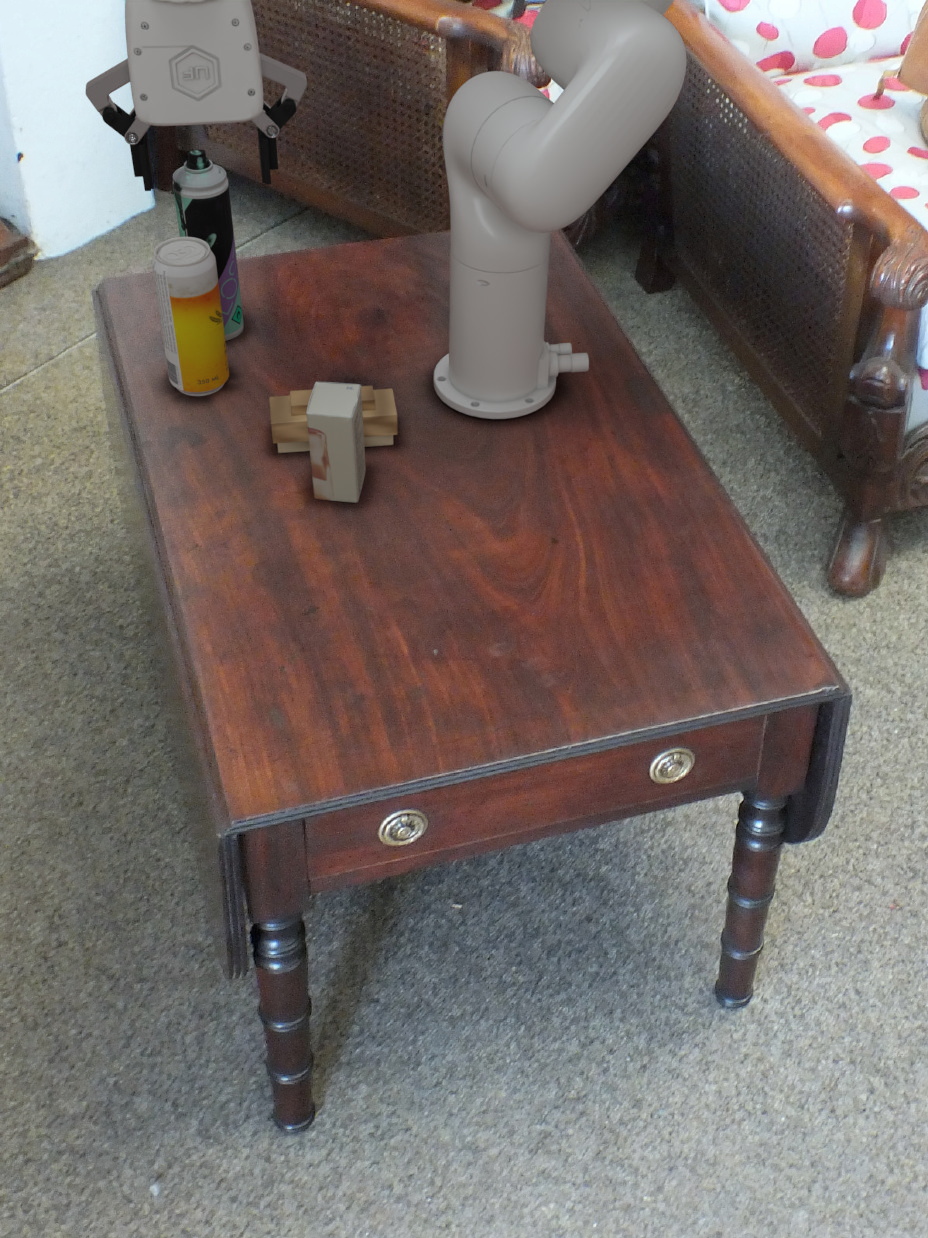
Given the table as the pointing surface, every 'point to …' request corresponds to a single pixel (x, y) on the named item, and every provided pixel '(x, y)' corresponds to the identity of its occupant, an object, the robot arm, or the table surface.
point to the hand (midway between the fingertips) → (207, 180)
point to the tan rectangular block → (294, 428)
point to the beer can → (190, 315)
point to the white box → (336, 441)
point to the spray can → (211, 227)
